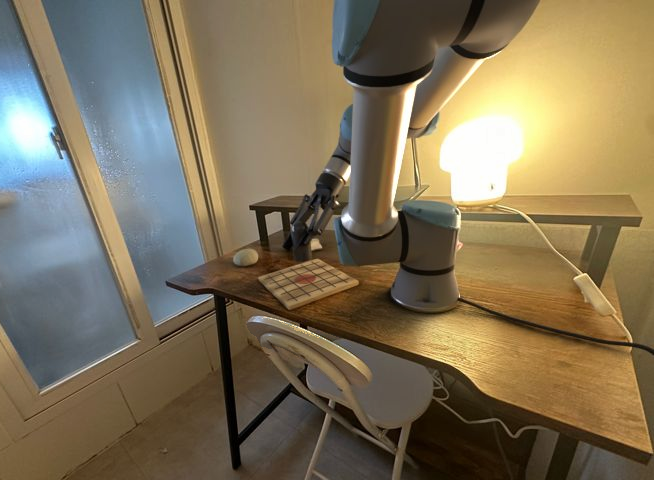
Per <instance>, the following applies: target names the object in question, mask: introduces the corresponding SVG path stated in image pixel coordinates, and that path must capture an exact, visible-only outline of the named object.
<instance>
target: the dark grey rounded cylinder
mask: <svg viewBox="0 0 654 480" xmlns="http://www.w3.org/2000/svg"><path fill="white" fill-rule="evenodd" d="M309 226H310V225H308V223H307V222H306V223H305V222H303V221H297V222H295V223H294V224H293V225H291V227H290V231H291V237H292V245H293V246H292V253H293V260H294V261H295V262H298V263H305V262H308V261H311V260H313V253H312V252H313V251H311V242H310V244H309V245H308V246H307V248H306V249H305V251H304V253H303V254H302V256H301V257H300V256H298V255H297V254H295V253H294V252H293V251H294V249H295V247H296V246H297V244H298V242H299V241H300V239H301V237H302V235H303V234H304V232H305V231H307V230H306V229H308V228H309ZM307 232H308V231H307Z"/></svg>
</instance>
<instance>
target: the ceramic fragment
mask: <svg viewBox="0 0 654 480" xmlns="http://www.w3.org/2000/svg"><path fill="white" fill-rule="evenodd" d="M311 251H312V252H314V251H323V246H322V245H321V243H320V240H319V239H318V238H313V239H312V241H311Z"/></svg>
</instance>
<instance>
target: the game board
mask: <svg viewBox="0 0 654 480" xmlns="http://www.w3.org/2000/svg"><path fill="white" fill-rule="evenodd" d="M257 278H258V281H259V282H260V283H261V284H262V285H263V286H264V287H265V289H267V290H268V292H270V293H271V294H272V295H273V296H274V297H275V298H276V299H277V300H278V301H280V303H281V304H282V305H283V306H285V308H286V309H287V310H288V311H291V310H294V309H297V308H300V307H302V306H306V305H308V304H310V303H313V302H316V301H319V300H321V299H324V298H326V297H330V296H332V295H334V294H337V293H340V292H343V291H345V290H348V289H351V288H354V287H356V286H357V287H358V286H359V285H360V283H359V280H357V279H355V278H354V277H352V276H351V275H348V274H347V273H344V272H343V271H342V270H339V269H337V268H336V267H334V266H332V265H330V264H329V263H326V262H324V261H323V260H321V259H320V258H314V259H311V260H309V261H305V262H301V263H299V264H296V265H291V266H289V267H286V268H283V269H279V270H277V271H273V272H270V273H267V274H263V275H261V276H258V277H257Z"/></svg>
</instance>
